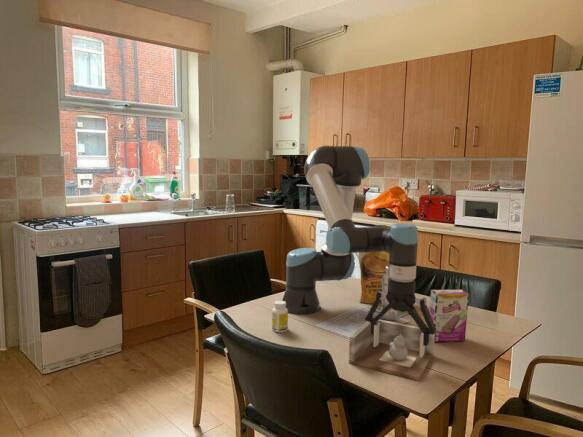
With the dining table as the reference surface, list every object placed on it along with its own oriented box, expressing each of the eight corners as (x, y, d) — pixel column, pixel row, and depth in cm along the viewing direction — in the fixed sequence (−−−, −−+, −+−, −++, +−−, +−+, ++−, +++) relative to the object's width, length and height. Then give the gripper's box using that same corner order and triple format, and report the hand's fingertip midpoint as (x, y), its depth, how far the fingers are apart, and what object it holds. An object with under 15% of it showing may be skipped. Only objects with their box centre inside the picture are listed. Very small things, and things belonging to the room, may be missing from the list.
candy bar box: (433, 343, 141) (436, 294, 139) (426, 337, 146) (429, 289, 144) (466, 342, 142) (469, 293, 140) (458, 335, 147) (461, 288, 145)
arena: (348, 363, 126) (349, 336, 125) (370, 341, 141) (371, 317, 140) (418, 381, 116) (420, 352, 115) (433, 355, 131) (434, 330, 130)
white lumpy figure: (396, 364, 123) (398, 337, 122) (382, 355, 129) (384, 329, 128) (412, 361, 125) (413, 334, 124) (397, 352, 131) (399, 326, 130)
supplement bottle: (289, 328, 152) (290, 300, 150) (284, 333, 147) (284, 305, 145) (275, 326, 153) (275, 299, 152) (269, 331, 148) (269, 303, 147)
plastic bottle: (387, 323, 157) (390, 269, 155) (375, 317, 163) (378, 265, 160) (401, 321, 160) (404, 267, 157) (389, 315, 166) (391, 263, 163)
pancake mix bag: (352, 299, 184) (354, 234, 181) (394, 297, 189) (397, 233, 185) (358, 304, 178) (361, 237, 174) (401, 302, 182) (404, 236, 179)
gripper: (355, 275, 126) (353, 345, 129) (444, 288, 114) (440, 365, 117) (364, 270, 133) (362, 336, 136) (450, 282, 121) (445, 355, 123)
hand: (398, 350), depth 126 cm, fingers open, 13 cm apart
